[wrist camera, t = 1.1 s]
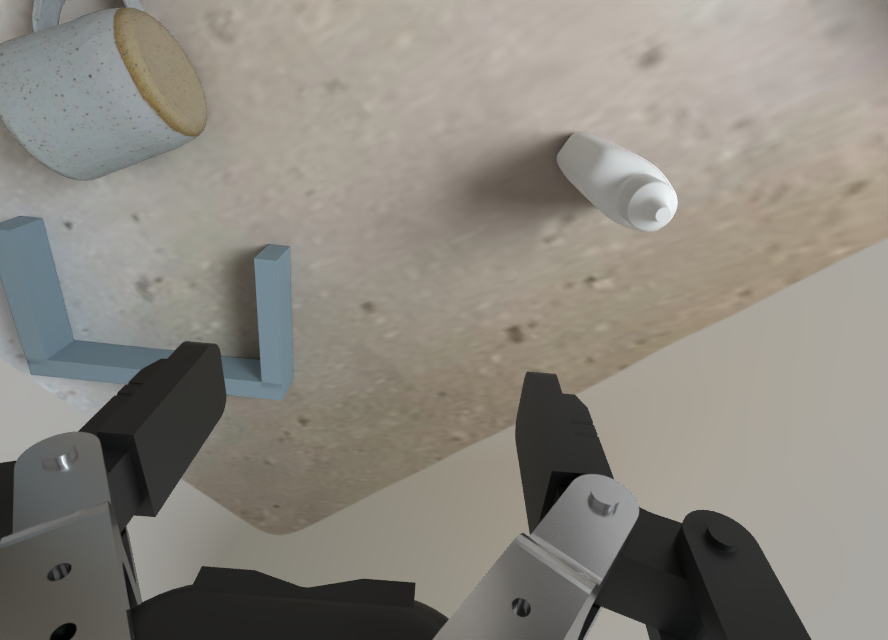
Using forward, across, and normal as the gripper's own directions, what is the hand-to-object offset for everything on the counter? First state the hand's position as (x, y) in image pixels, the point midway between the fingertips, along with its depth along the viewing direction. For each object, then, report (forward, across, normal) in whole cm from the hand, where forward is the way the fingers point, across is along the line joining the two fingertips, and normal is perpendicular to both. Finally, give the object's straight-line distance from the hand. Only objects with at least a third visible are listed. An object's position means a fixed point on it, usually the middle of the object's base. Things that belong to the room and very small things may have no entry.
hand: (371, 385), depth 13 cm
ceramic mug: (+24, +19, -5) cm, 31 cm away
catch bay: (+23, +19, +11) cm, 32 cm away
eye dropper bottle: (+24, -11, -2) cm, 26 cm away
